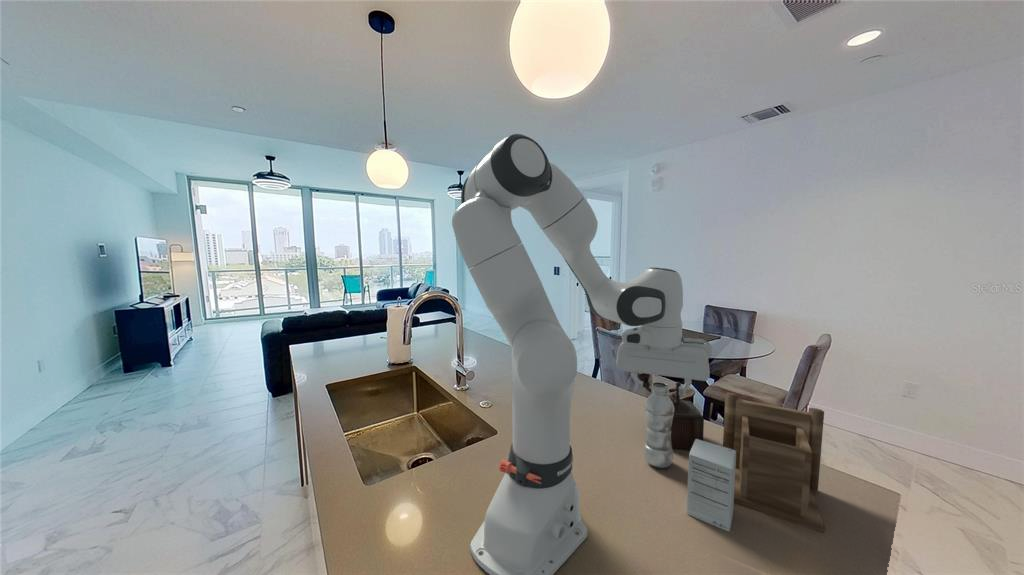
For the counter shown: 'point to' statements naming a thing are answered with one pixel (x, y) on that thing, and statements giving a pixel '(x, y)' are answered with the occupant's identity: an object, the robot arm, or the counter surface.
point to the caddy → (775, 458)
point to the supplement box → (711, 483)
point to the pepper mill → (681, 418)
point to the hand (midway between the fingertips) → (660, 392)
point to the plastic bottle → (659, 426)
